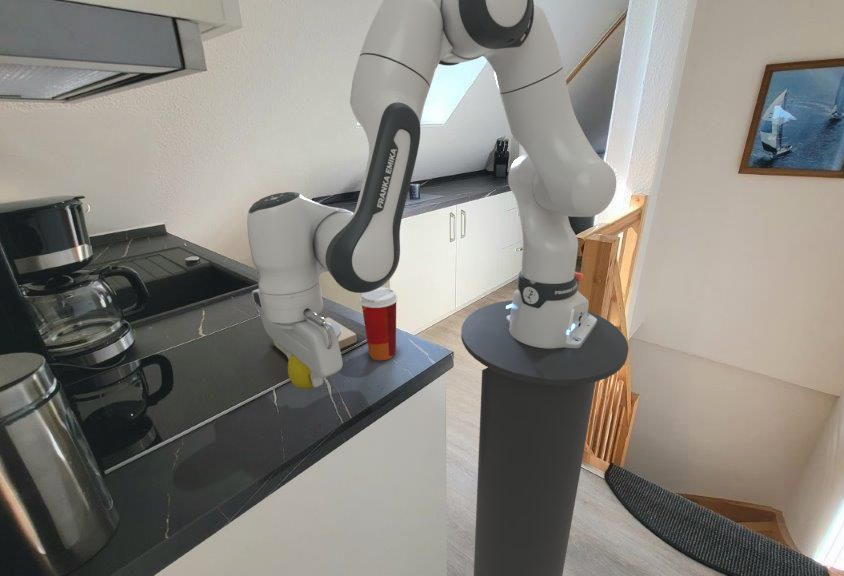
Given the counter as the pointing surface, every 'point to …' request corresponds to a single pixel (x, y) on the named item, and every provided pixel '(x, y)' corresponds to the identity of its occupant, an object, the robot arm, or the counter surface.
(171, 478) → the counter surface
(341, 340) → the scale
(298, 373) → the lemon
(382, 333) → the paper cup
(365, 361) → the counter surface
